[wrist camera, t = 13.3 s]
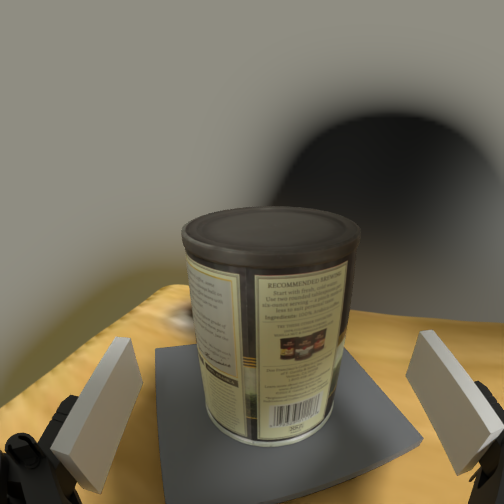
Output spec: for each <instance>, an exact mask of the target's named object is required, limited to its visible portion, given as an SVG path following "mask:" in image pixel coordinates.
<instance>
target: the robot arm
mask: <svg viewBox="0 0 504 504" xmlns="http://www.w3.org/2000/svg"><path fill="white" fill-rule="evenodd" d="M406 377H407V379H408V381H409V383H410V384H411V386H412V388H413V390H414V392H415V393H416V395H417V397H418V399H419V401H420V403H421V405H422V406H423V408H424V410H425V412H426V414H427V416H428V418H429V420H430V422H431V424H432V426H433V427H434V429H435V431H436V433H437V435H438V437H439V439H440V441H441V443H442V445H443V447H444V449H445V452H446V454H447V456H448V458H449V460H450V462H451V464H452V466H453V468H454V470H455V473H456V475H457V476H458V475H461V474H463V473H465V472H468V471H470V470H472V469H473V467H474V466H475V465H476V464H477V463H478V461H479V463H480V465H481V467H480V468H479V469H478V470H477V471H476V472H475V473H474V475H473V476H472V477H471V478H470V480H469V482H471V481H472V480H473V479H474V478H475V477H476V479H475V482H474V486H473V489H472V492H471V496H470V499H469V502H468V504H504V410H503V408H502V407H501V406H500V404H499V403H497V400H496V399H495V397H494V396H492V393H491V392H490V391H489V389H488V388H487V387H486V386H485V385H483V384H482V383H481V382H479V381H475V382H473V380H472V379H471V378H470V376H469V375H468V374H467V372H466V371H465V370H464V368H463V367H462V366H461V365H460V363H459V362H458V361H457V359H456V358H455V357H454V356H453V354H452V353H451V352H450V350H449V349H448V348H447V347H446V345H445V344H444V343H443V342H442V340H441V339H440V338H439V337H438V336H437V334H436V333H435V332H434V331H433V330H426V331H420V332H419V335H418V339H417V342H416V345H415V349H414V352H413V355H412V358H411V361H410V364H409V367H408V370H407V373H406ZM142 384H143V381H142V377H141V374H140V371H139V367H138V364H137V360H136V356H135V353H134V349H133V345H132V341H131V338H124V337H115V339H114V340H113V342H112V343H111V345H110V346H109V348H108V350H107V351H106V353H105V354H104V356H103V358H102V359H101V361H100V362H99V364H98V366H97V367H96V369H95V371H94V372H93V374H92V376H91V377H90V379H89V381H88V382H87V384H86V386H85V387H84V389H83V391H82V392H81V394H80V396H79V397H78V396H74V395H70V396H69V397H67V398H66V399H65V400H64V401H62V402H61V404H60V406H59V407H58V409H57V411H56V413H55V414H54V416H53V417H52V421H50V422H49V424H48V426H47V427H46V429H45V431H44V433H43V434H42V436H41V438H40V440H39V441H38V443H37V442H36V441H35V440H34V438H33V437H32V436H30V435H29V434H26V433H17V434H15V435H12V436H11V437H10V438H9V439H8V440H7V442H6V444H5V452H6V453H3V452H2V451H1V450H0V504H82V502H81V500H80V497H79V495H78V493H77V491H76V490H75V486H76V483H78V484H79V485H80V486H81V487H82V488H83V489H85V490H88V491H91V492H95V493H98V494H101V492H102V489H103V486H104V484H105V481H106V478H107V475H108V472H109V470H110V467H111V464H112V461H113V459H114V456H115V453H116V451H117V448H118V445H119V443H120V440H121V437H122V435H123V432H124V430H125V427H126V424H127V422H128V419H129V417H130V414H131V412H132V409H133V407H134V404H135V402H136V399H137V397H138V394H139V392H140V389H141V387H142Z"/></svg>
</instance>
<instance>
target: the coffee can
mask: <svg viewBox="0 0 504 504" xmlns="http://www.w3.org/2000/svg"><path fill="white" fill-rule="evenodd" d="M181 234H182V241H183V245H184V247H185V252H186V262H187V270H188V279H189V288H190V297H191V304H192V313H193V320H194V327H195V335H196V342H197V348H198V355H199V362H200V368H201V374H202V380H203V386H204V392H205V403H206V409H207V412H208V415H209V417H210V419H211V420H212V422H213V423H214V424H215V426H216V427H218V428H219V429H220V431H221V432H223V433H224V434H226V435H228V436H229V437H231V438H233V439H235V440H237V441H239V442H242V443H245V444H249V445H253V446H259V447H278V446H284V445H290V444H293V443H296V442H299V441H302V440H304V439H306V438H308V437H310V436H311V435H313V434H314V433H316V432H317V431H318V430H319V429H321V428H322V427H323V426H324V424H325V423H326V421H327V420H328V419H329V417H330V415H331V412H332V409H333V404H334V396H335V391H336V386H337V381H338V376H339V371H340V366H341V360H342V355H343V348H344V343H345V337H346V330H347V324H348V318H349V311H350V304H351V296H352V288H353V279H354V268H355V260H356V250H357V247H358V245H359V242H360V236H361V230H360V228H359V226H358V225H357V224H356V223H354V222H353V221H351V220H350V219H348V218H346V217H343V216H340V215H337V214H334V213H330V212H326V211H321V210H316V209H309V208H299V207H280V206H265V207H246V208H237V209H230V210H223V211H218V212H214V213H209V214H207V215H203V216H200V217H198V218H195V219H193V220H191V221H190V222H188V223H187V224H185V225H184V226H183V228H182V233H181Z"/></svg>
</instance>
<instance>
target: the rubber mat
mask: <svg viewBox="0 0 504 504" xmlns="http://www.w3.org/2000/svg"><path fill="white" fill-rule="evenodd" d="M155 376H156V404H157V423H158V437H159V450H160V460H161V470H162V479H163V488H164V495H165V503H166V504H277V503H281V502H285V501H288V500H292V499H295V498H299V497H302V496H305V495H308V494H311V493H314V492H317V491H320V490H323V489H326V488H329V487H332V486H334V485H337V484H340V483H342V482H345V481H347V480H350V479H352V478H354V477H357V476H359V475H362V474H364V473H366V472H368V471H371V470H373V469H375V468H377V467H379V466H381V465H383V464H385V463H387V462H389V461H391V460H393V459H395V458H397V457H399V456H401V455H403V454H405V453H407V452H409V451H410V450H412V449H414V448H416V447H418V446H419V445H420V443H421V442H422V440H423V437H422V436H421V435H420V433H419V432H418V431H417V430H416V429H415V428H414V427H413V425H412V424H411V423H410V422H409V421H408V420H407V418H406V417H405V416H404V415H403V414H402V413H401V412H400V410H399V409H398V408H397V407H396V406H395V405H394V404H393V402H392V401H391V400H390V399H389V398H388V397H387V396H386V394H385V393H384V392H383V391H382V390H381V389H380V388H379V386H378V385H377V384H376V383H375V382H374V381H373V380H372V378H371V377H370V376H369V375H368V374H367V373H366V372H365V370H364V369H363V368H362V367H361V366H360V365H359V364H358V362H357V361H356V360H355V359H354V358H353V357H352V356H351V355H350V353H349V352H348V351H347V350H346V349H345V348H343V355H342V360H341V366H340V371H339V376H338V381H337V386H336V391H335V396H334V404H333V409H332V412H331V415H330V417H329V419H328V420H327V421H326V423H325V424H324V426H323V427H322V428H321V429H319V430H318V431H317V432H316V433H314V434H313V435H311V436H310V437H308V438H306V439H304V440H302V441H299V442H296V443H293V444H290V445H284V446H278V447H259V446H253V445H249V444H245V443H242V442H239V441H237V440H235V439H233V438H231V437H229V436H228V435H226V434H224V433H223V432H221V431H220V429H219V428H218V427H216V426H215V424H214V423H213V422H212V420H211V419H210V417H209V415H208V412H207V409H206V403H205V392H204V386H203V380H202V374H201V368H200V362H199V355H198V348H197V344H192V345H183V346H175V347H165V348H156V349H155Z"/></svg>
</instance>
